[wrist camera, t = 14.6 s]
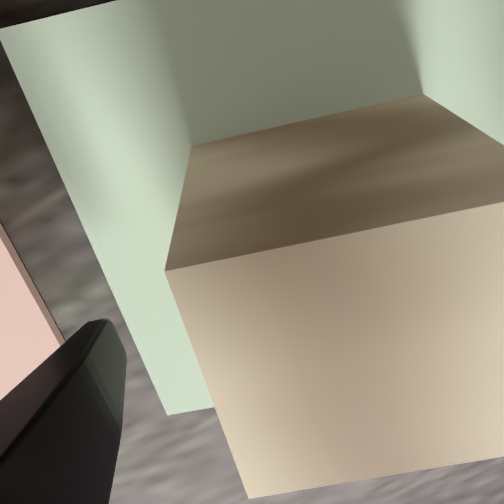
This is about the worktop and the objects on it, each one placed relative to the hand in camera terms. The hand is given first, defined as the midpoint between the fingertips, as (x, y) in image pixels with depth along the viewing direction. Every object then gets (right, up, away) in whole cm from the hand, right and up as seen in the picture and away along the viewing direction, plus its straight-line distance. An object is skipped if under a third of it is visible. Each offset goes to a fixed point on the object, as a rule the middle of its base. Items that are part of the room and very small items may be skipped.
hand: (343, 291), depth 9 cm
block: (0, +1, +2) cm, 3 cm away
